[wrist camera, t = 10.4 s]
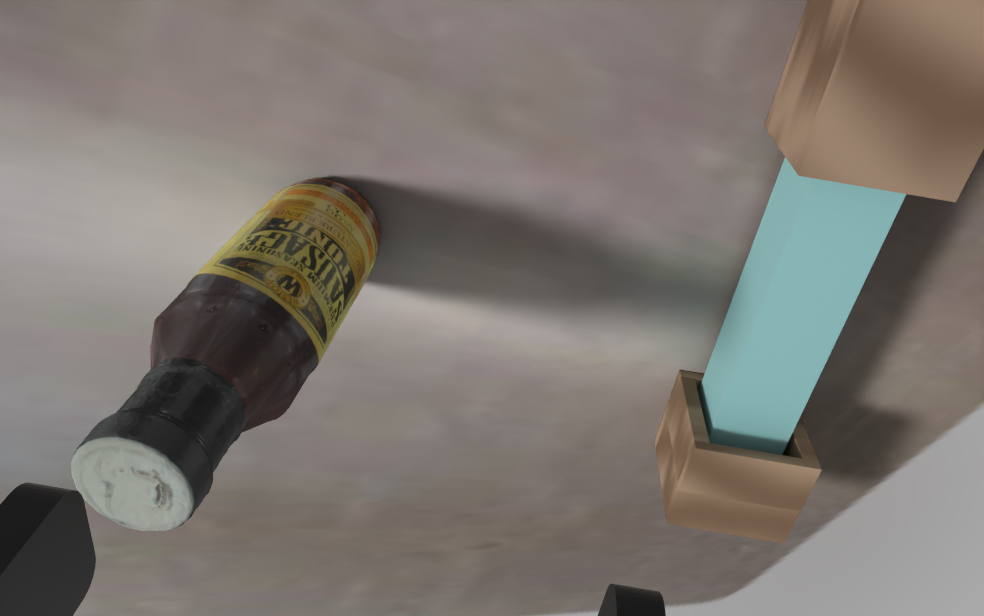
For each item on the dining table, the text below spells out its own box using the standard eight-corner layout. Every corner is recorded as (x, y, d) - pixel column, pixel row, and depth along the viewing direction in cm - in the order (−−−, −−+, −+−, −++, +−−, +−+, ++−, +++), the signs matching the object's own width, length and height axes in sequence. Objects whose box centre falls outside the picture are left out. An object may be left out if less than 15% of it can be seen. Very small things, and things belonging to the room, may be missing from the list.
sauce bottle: (408, 225, 40) (287, 505, 23) (339, 296, 42) (186, 592, 25) (309, 141, 38) (96, 380, 21) (243, 221, 40) (8, 489, 23)
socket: (679, 370, 43) (696, 448, 37) (789, 388, 43) (822, 469, 37) (654, 440, 46) (666, 523, 40) (757, 458, 46) (783, 543, 40)
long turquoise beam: (801, 113, 34) (826, 142, 31) (887, 128, 34) (922, 159, 31) (689, 413, 44) (700, 461, 40) (757, 424, 44) (773, 473, 40)
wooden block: (838, -87, 30) (894, -73, 25) (993, -61, 30) (1082, -41, 25) (764, 126, 35) (798, 175, 30) (898, 149, 35) (955, 202, 30)
